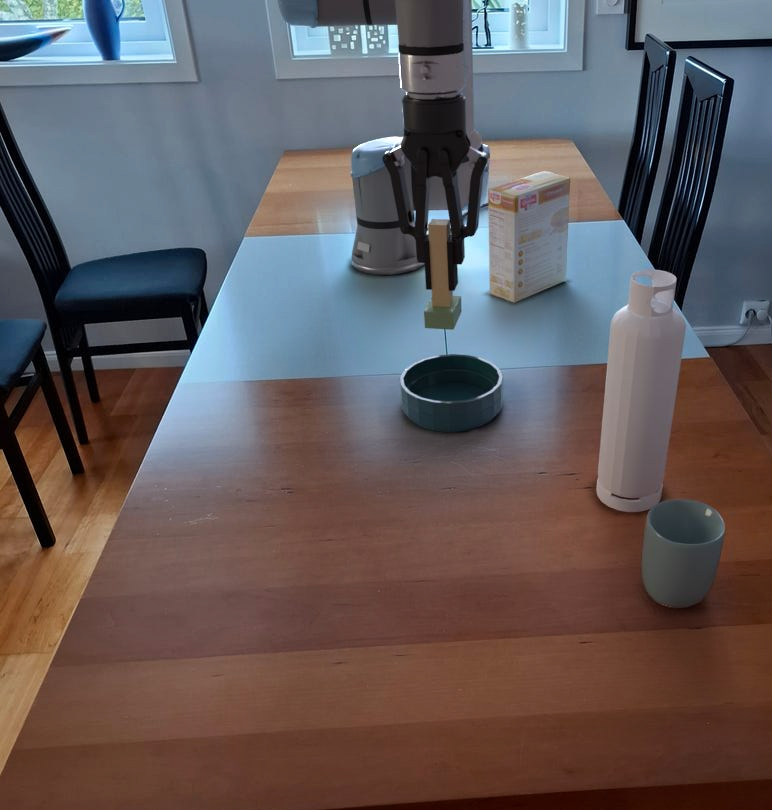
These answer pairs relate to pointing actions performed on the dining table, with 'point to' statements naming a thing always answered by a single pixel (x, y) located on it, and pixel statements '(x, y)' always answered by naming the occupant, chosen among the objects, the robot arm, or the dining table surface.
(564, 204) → the coffeecake box
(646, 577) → the cup
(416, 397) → the bowl
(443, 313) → the brush
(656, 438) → the bottle
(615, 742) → the dining table surface
